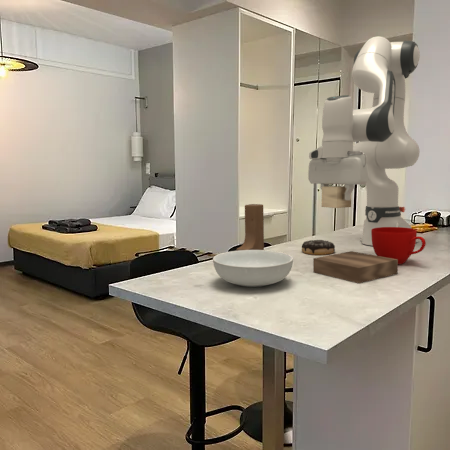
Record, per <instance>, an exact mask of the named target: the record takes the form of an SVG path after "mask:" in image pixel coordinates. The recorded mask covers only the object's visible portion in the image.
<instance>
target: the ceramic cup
mask: <svg viewBox="0 0 450 450" xmlns="http://www.w3.org/2000/svg"><path fill="white" fill-rule="evenodd" d="M411 228H412V227H411ZM411 228H403V227H379V228H373V229H372V230H371V235H372V245H373V246H372V248H373V251H374V253H375V256H381V257H387V258H392V259H398V265H402V264H405V263H406V261H408V260H409V259H410V257H411V256H412V255H415V254H418V253H420V252H422V251H423V250H424V249H425V247H426V245H427V244H426V238H424V237H422V236H417V235H418V234H417V232H418V231H417V229H415V228H412V229H411ZM416 239H419V241H421V247H420V248H419V249H417V250H415V249H416V248H415V246H416V244H417V242H416Z"/></svg>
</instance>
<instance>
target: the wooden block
mask: <svg viewBox="0 0 450 450" xmlns="http://www.w3.org/2000/svg"><path fill="white" fill-rule="evenodd" d="M264 218H265V217H264V204H260V203H257V204H256V203H251V204H245V205H244V232H245V233H244V241H243V243H242V244H241V246H239V247H237V248H236V251H240V250H265V238H264V237H265V235H264V233H265V232H264V230H265V229H264Z"/></svg>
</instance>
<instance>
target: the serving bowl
mask: <svg viewBox="0 0 450 450" xmlns="http://www.w3.org/2000/svg"><path fill="white" fill-rule="evenodd" d="M212 262H213V263H212V264H213V267H214V270H215V273H217V275H218V276H219V277H220V278H221V279H223V280H224V281H225V282H227V283H230V284H233V285H237V286H241V287H246V288H247V287H248V288H259V287H266V286H269V285H273V284H276V283H279V282H281V281H282V280H284V279H286V277H287V276H288V275H289V274H290V272H291V270H292V269H293V264H294V263H293V262H294V257H293V256H292V255H290V254H289V253H285V252H282V251H275V250H268V249H264V250H240V251H237V250H231V251H227V252H223V253H222V252H221V253H218V254H216V255H214V256H213V257H212Z"/></svg>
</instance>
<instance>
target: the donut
mask: <svg viewBox="0 0 450 450" xmlns="http://www.w3.org/2000/svg"><path fill="white" fill-rule="evenodd" d="M335 248H336V246H335V244H334V243H333V242H331V241H329V240H323V239H311V240H306V241H303V243H302V244H301V251H302V253H304V254H306V255H313V256H328V255H332V254H333V253H334V252H335V251H336V249H335Z"/></svg>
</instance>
